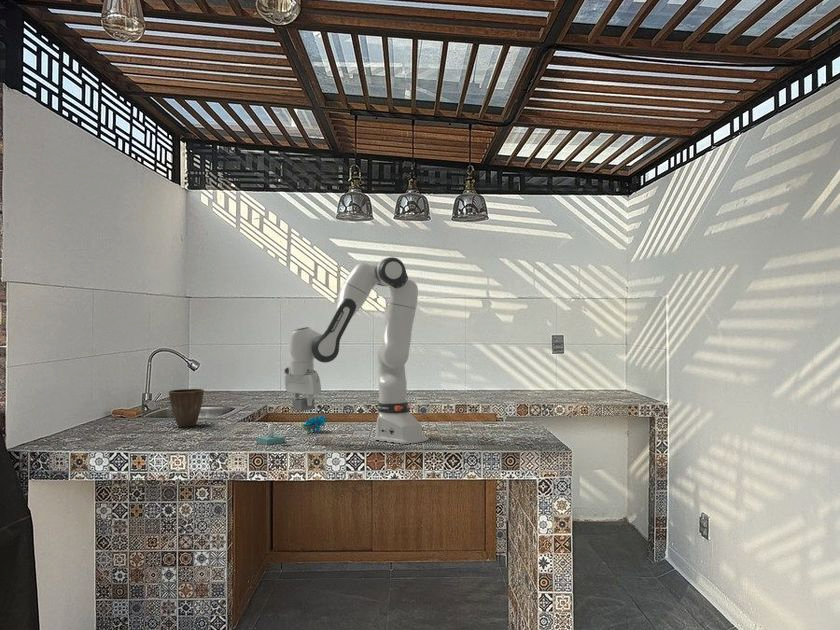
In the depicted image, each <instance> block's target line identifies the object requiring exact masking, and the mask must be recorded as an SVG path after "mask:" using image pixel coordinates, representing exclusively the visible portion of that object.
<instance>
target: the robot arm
mask: <svg viewBox="0 0 840 630" xmlns="http://www.w3.org/2000/svg"><path fill="white" fill-rule="evenodd" d="M377 285H378V286H381V287H389V290H390V299H389V303H388V307H387V312H386V317H385V322H384V330H383V337H382V342H381V343H380V345H379V346H378V348H377V353H376V354H377V355H376V356H377V357H376V358H377V374H378V402H377V412H378V416H377V418H376V425H375V426H376V428H375V435H374V437H373V440H374V441H376V440H379V441H378V442H384V441H387V442H386V443H391V442H394V443H393V444H398V443H400V445H410V443H411V444H417V443H423V442H426V441H429V437H428V436H426V435H423V428H422V424H421V422H420V421H418V420H417V419H416V417H415V416H414V415H413V414H412V413H411V412H410V411H411V410H410V409H412V405H411V404H409V403H408V400H407V399H408V397H407V396H408V395H407V394H408V393H407V390H408V389H407V385H408V384H407V377H406V367H405V365H406V363H407V362H408V359H409V356H410V354H409V353H410V350H411V349H410V347H411V343H412V341H411V340H412V333H413V332H412V331H413V326H414V322H415V321H414V320H415V315H416V311H417V310H416V309H417V305H418V296H419V294H418V293H419V288H418V285H417V283H416V282H414V280H411V279H409V276H408V272H407V269H406V267H405V264H404V263H403V261H402V260H401V259H399V258H397V257H394V256H393V257H392V256H391V257H385V258H383V259H381V260H380V261H379V262H377V263H376V264H374V265H371V264H368V263H366V262H359V263H357V264H356V265H355V266H354V267H353V268H352V270H351V271H350V272H349V274H348V275H347V276H346V279H345V280H344V281H343V283H342V285H341V287H340V290H339V291H338V294H337V298H336V308H335V312H334V315H333V317H332V318H331V320H330V323H329V324H328V325H327V327H326V330H324V332H323V333H320V332H318V331H316V330H314V329H312V328H311V327H309V326H308V327H307V326H305V327H300V328H296V329H294V330H293V331H291V333H290V335H289V353H290V357H291V358H290V361H289V362H290V365H289V366H287V367H285V368H284V369H283V374H285V375H284V387H285V391H286V392H287V393H292V394H293V397H294V399H300V398H301V397H300V395H301V394H302V395H306V398H308V399H307V401H306V405H307V406H312V400H313V399H314V397H315V396H316V395H320V394H322V393H321V392H322V385H321V379H320V376H319V374H318V372H317V370H315V369H314V368H315V367H314V360H315V359H316V360H317V361H318V362H320V363H330V362H333V361H334V360H335V359H336V358H337V357H338V355H339V352H340V341H341V339H342V337H343V335H344V333H345V332H346V329H347V327H348V325H349V323H350V321H351V320H352V319H353V317H354V316H355V315H356V314H357V313H358V312H359V310H360V309H361V308H362V307H363V305H364V304H365V303H366V300H367V299H368V297H369V295H370V293H371V292H372V289H373V288H374V287H375V286H377ZM314 395H315V396H314Z"/></svg>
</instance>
